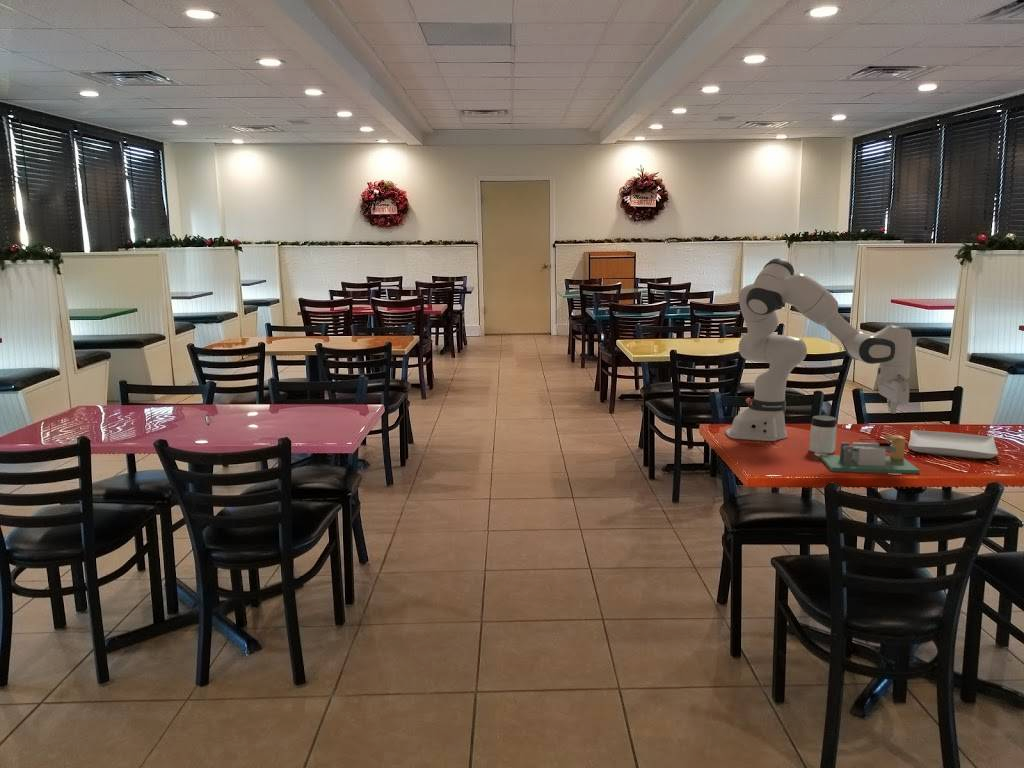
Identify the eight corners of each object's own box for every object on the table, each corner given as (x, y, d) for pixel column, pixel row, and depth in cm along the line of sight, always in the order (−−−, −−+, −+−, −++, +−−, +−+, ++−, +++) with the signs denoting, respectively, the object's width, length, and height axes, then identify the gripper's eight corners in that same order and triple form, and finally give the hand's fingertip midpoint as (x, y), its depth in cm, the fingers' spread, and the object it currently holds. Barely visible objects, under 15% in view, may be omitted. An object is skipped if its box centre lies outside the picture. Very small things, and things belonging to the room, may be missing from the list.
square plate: (992, 445, 290) (993, 435, 289) (997, 464, 266) (998, 453, 265) (909, 437, 302) (910, 427, 301) (907, 454, 278) (908, 444, 278)
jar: (840, 452, 280) (842, 419, 278) (823, 455, 277) (826, 421, 275) (820, 446, 288) (822, 414, 286) (804, 449, 285) (806, 416, 283)
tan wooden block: (885, 459, 267) (887, 438, 265) (881, 456, 271) (883, 435, 269) (903, 459, 266) (905, 438, 265) (899, 456, 270) (901, 435, 269)
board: (831, 471, 258) (833, 450, 256) (819, 458, 273) (820, 438, 272) (919, 473, 254) (921, 452, 253) (901, 460, 270) (903, 440, 269)
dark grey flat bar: (844, 451, 262) (844, 448, 262) (842, 448, 265) (842, 445, 265) (895, 451, 260) (895, 448, 260) (892, 449, 263) (892, 446, 263)
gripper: (915, 378, 260) (912, 419, 263) (894, 368, 280) (891, 406, 282) (895, 377, 261) (892, 418, 263) (876, 367, 281) (873, 406, 283)
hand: (891, 412), depth 273 cm, fingers closed
